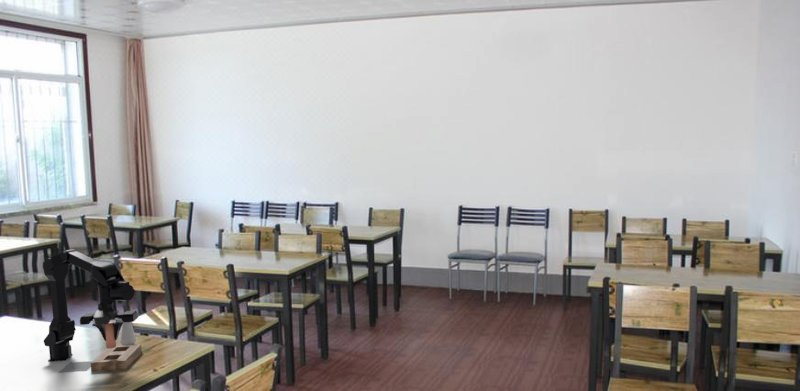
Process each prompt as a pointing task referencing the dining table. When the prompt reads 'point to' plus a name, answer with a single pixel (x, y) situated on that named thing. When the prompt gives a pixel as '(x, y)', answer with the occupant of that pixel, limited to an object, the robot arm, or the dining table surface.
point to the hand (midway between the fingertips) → (110, 340)
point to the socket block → (116, 358)
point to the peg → (110, 335)
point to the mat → (76, 367)
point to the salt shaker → (127, 334)
